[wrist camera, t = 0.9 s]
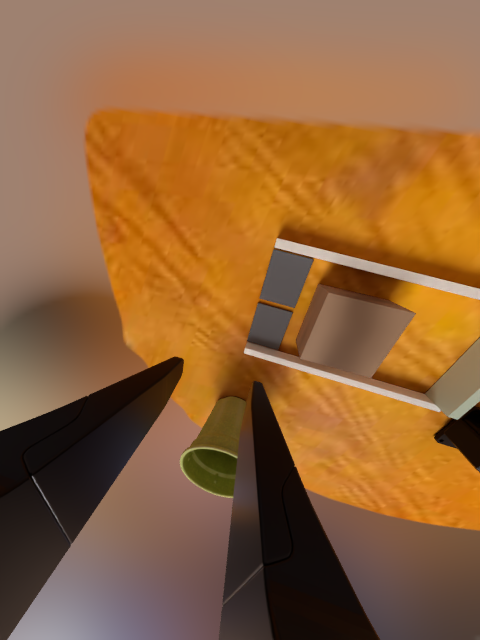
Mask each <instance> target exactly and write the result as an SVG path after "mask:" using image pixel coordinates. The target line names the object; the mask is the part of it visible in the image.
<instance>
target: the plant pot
mask: <svg viewBox="0 0 480 640" xmlns="http://www.w3.org/2000/svg"><path fill="white" fill-rule="evenodd" d="M245 406H246V401H244V400H242V399H240V398H237V397H232V396H229V397H226V398H223V399H220V400H218V401H217V403H216V405H215V406H214V408H213V410H212V412H211V414H210V416H209V417H208V419H207V421H206V423H205V425H204V426H203V428H202V430H201V432H200V434H199V435H198V437H197V439H195V440H194V441H193V443H192V444H191V446H190V447H189V448H187V449H186V450H185V451H184V452H183V453H182V455H181V458H180V466H181V469H182V471H183V473H184V474H185V476H186V477H187V478H188V479H189V480H190V481H191V482H192V483H194V484H195V485H197V486H198V487H200V488H201V489H203V490H205V491H207V492H209V493H211V494H214V495H218V496H222V497H228V498H233V495H234V486H235V476H236V466H237V456H238V447H239V437H240V430H241V425H242V420H243V415H244V411H245Z"/></svg>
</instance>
